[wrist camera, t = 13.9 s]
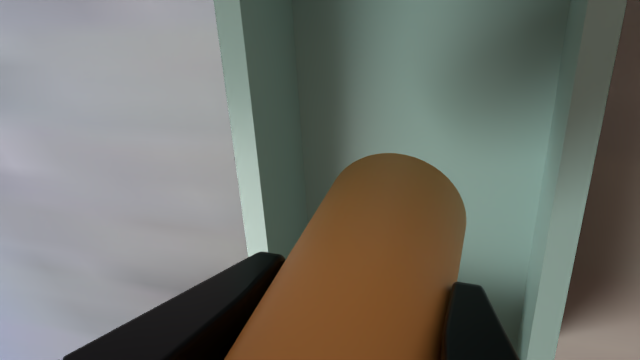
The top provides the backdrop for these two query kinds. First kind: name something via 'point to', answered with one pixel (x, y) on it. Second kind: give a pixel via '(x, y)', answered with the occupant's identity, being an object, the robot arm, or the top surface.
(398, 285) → the pin
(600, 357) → the top surface
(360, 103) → the tray
